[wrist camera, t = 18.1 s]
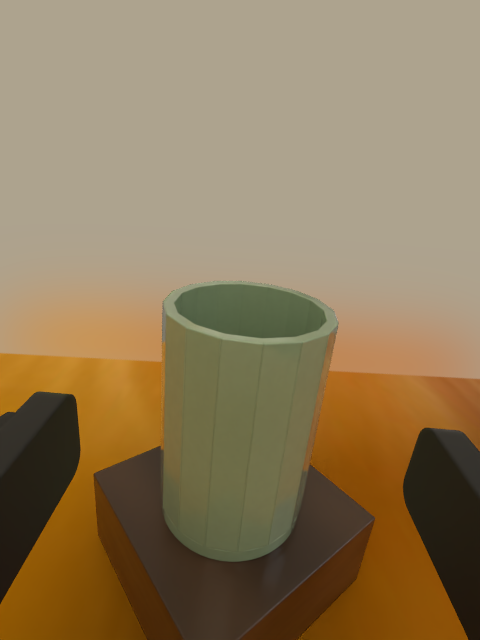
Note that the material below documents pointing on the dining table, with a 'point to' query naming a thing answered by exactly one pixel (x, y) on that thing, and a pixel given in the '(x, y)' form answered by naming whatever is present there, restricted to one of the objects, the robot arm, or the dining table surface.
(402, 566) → the dining table surface
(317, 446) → the dining table surface
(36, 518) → the robot arm
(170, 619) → the block
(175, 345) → the cup
